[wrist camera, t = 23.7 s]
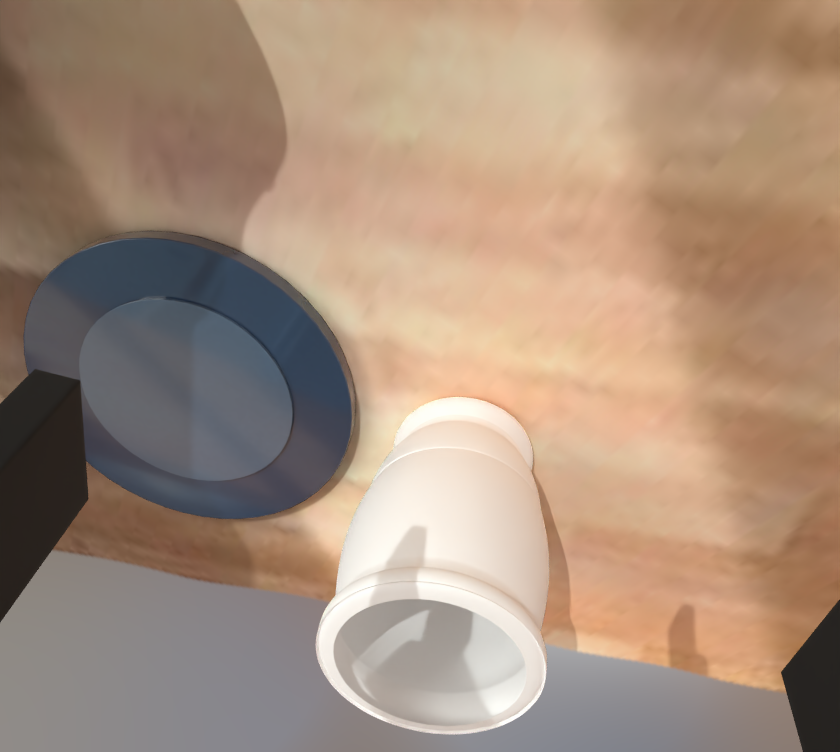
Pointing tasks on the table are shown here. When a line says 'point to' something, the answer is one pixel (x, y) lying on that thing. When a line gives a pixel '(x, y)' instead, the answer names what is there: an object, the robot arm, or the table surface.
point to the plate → (195, 373)
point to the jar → (443, 577)
